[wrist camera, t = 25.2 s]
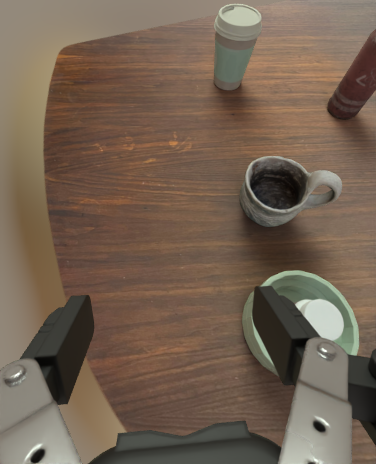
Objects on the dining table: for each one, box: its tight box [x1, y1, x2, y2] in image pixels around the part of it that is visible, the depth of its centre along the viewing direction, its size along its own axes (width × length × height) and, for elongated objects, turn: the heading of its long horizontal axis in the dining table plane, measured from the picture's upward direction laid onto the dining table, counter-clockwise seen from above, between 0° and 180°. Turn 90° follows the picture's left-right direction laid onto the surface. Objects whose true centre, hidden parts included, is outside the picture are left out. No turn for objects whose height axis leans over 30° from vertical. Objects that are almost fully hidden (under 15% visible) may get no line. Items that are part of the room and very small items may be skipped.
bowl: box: [242, 270, 359, 376], centre depth 30 cm, size 12×12×5 cm
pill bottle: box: [294, 299, 344, 341], centre depth 28 cm, size 5×5×8 cm
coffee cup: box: [214, 4, 262, 90], centre depth 48 cm, size 9×8×12 cm
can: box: [328, 30, 376, 119], centre depth 45 cm, size 6×6×14 cm
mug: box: [240, 156, 342, 227], centre depth 36 cm, size 10×12×10 cm
